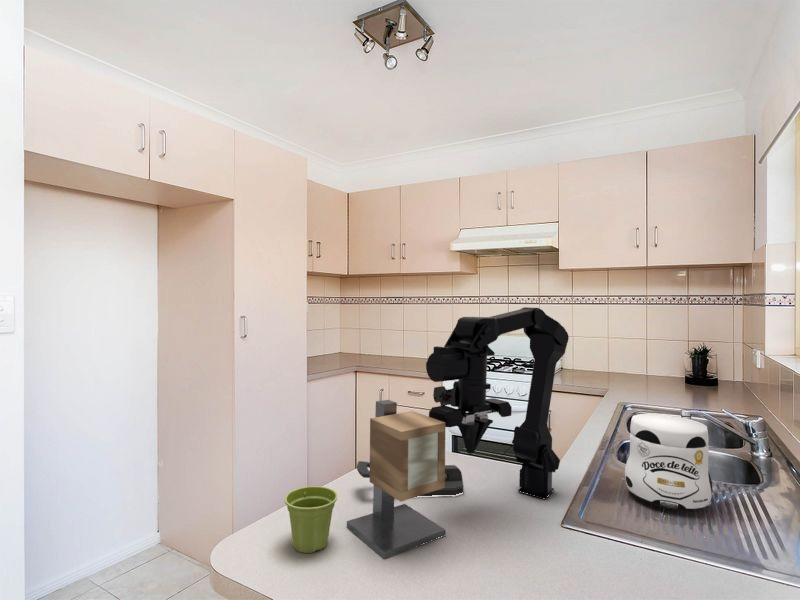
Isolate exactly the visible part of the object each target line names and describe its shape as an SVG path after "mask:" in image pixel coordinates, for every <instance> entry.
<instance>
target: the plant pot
mask: <svg viewBox="0 0 800 600" xmlns="http://www.w3.org/2000/svg"><path fill="white" fill-rule="evenodd" d="M337 500H338V493H337V492H336V491H335V490H334V489H333V488H329V487H326V486H318V485H317V486H316V485H314V486H313V485H312V486H311V485H310V486H303V487H298V488H296V489H293V490H291V491H289V492H288V493H287V494H286V495H285V497H284V504H285V505H286V507H287V511H288V514H289V519H290V520H289V521H290V528H291V529H290V530H291V540H292V547H294V548H295V550H296V551H297V552H300V553H309V554H311V553H314V552H316V551H321V550H323V549H324V548H326V547H327V545H328V541H329V535H330V528H331V523H332V515H333V510H334V508H335V503H336V502H337Z"/></svg>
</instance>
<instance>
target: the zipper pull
mask: <svg viewBox="0 0 800 600" xmlns="http://www.w3.org/2000/svg"><path fill="white" fill-rule="evenodd" d="M356 469H357V472H358V474H359V475H360V476H361V477H362V478H364V479H365V478H367V479H370V461H361V460H358V462H357V464H356ZM462 492H463V493H464V479H463V475H462V471H461V469H460V468H459V467H458V466H457V465H455V464H449V465H446V464H445V488H442V489H439V490H436V491H433V492H430V493H426V494H423V495H420V496H432V495H456V494H459V493H462Z"/></svg>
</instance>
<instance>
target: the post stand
mask: <svg viewBox="0 0 800 600" xmlns="http://www.w3.org/2000/svg"><path fill="white" fill-rule="evenodd" d="M397 406H398V402H395V401H393V400H390V399H383V400H376V401H375V417H374V418H376V417H382V416H387V415H393V414H398V412H397V408H398V407H397ZM372 495H373V496H372V513H369V514H365V515H363V516H360V517H357V518H356V517H355V518H352V519H350V520H349V519H348V520H347V521H346V528H347V529H348V530H349V531H351V532H352V533H353V534H354V536H356V537H357V538H359V539H360V540H361V541H362V542H363V543H364V544H366V545H367V546H368V547H369V548H370V549H371V550H372V551H374V552H375V553H376V554H378V556H380V557H381V558H382V559H383V560H386V559H388V558H390V557H393V556H396V555H399V554H401V553H402V554H403V553H404V552H407V551H409V549H410V550H411V548H412V549H414V547H415V548H417V547H416V546H418V547H420V546H422V545H421V544H423V543H426V542H428V543H430V542H429V541H431V540H434V539H436V538H438V537H441V536H444V535H446V533H447V532H446V531H447V530H446V529H445V528H444V527H442V526H440V524H437V523H436V522H434V521H433V520H432V519H429V518H428V517H427V516H425V515H423V514H422V513H421V512H419V511H417V510H415V509H414V508H413V507H411V506H409V505H408V504H406V503H402V504H400V505H396V506H395V498H394V497H393V496H391V495H389V494H388V493H386V492H385V491H383V490H382V489H380V488H378V487H377V486H375V485H374V484H373V494H372ZM444 537H445V536H444ZM436 540H437V539H436ZM434 541H435V540H434ZM431 542H432V541H431ZM426 544H427V543H426ZM419 545H420V546H419ZM423 545H424V544H423ZM406 550H407V551H406Z"/></svg>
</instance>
